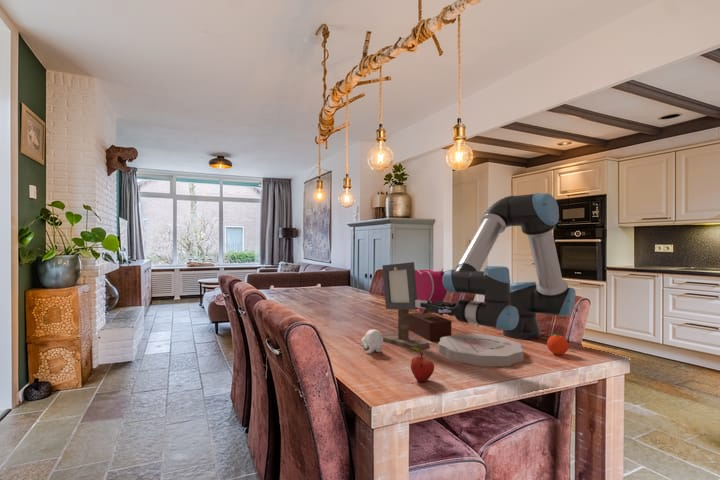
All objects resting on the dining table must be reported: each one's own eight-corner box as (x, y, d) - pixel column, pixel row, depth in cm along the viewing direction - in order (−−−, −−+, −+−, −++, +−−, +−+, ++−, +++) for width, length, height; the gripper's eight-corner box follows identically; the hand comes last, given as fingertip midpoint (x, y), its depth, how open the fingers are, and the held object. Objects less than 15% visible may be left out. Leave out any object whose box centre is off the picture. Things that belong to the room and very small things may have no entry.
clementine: (540, 351, 141) (540, 332, 141) (556, 350, 142) (556, 331, 142) (557, 357, 133) (556, 337, 133) (573, 356, 135) (573, 336, 135)
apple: (426, 375, 116) (426, 342, 116) (438, 383, 109) (438, 348, 110) (404, 378, 113) (404, 345, 113) (415, 386, 107) (415, 351, 107)
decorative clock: (455, 340, 156) (455, 268, 156) (433, 343, 153) (432, 268, 153) (427, 327, 180) (427, 264, 180) (407, 329, 177) (407, 265, 177)
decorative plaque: (431, 333, 155) (505, 333, 154) (431, 342, 155) (505, 342, 154) (447, 355, 125) (538, 356, 124) (447, 366, 125) (539, 367, 124)
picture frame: (418, 309, 145) (414, 262, 147) (413, 309, 144) (409, 262, 145) (389, 308, 157) (385, 265, 159) (384, 309, 156) (381, 265, 157)
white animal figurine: (368, 331, 136) (356, 327, 147) (369, 355, 135) (356, 349, 146) (384, 329, 139) (370, 326, 150) (385, 353, 138) (371, 348, 149)
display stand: (429, 346, 147) (429, 265, 148) (415, 350, 142) (415, 266, 142) (389, 335, 164) (389, 263, 165) (376, 338, 159) (376, 264, 159)
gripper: (458, 326, 122) (404, 315, 140) (481, 320, 131) (427, 310, 149) (458, 303, 122) (404, 295, 140) (481, 298, 131) (427, 291, 149)
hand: (416, 303), depth 144 cm, fingers closed
